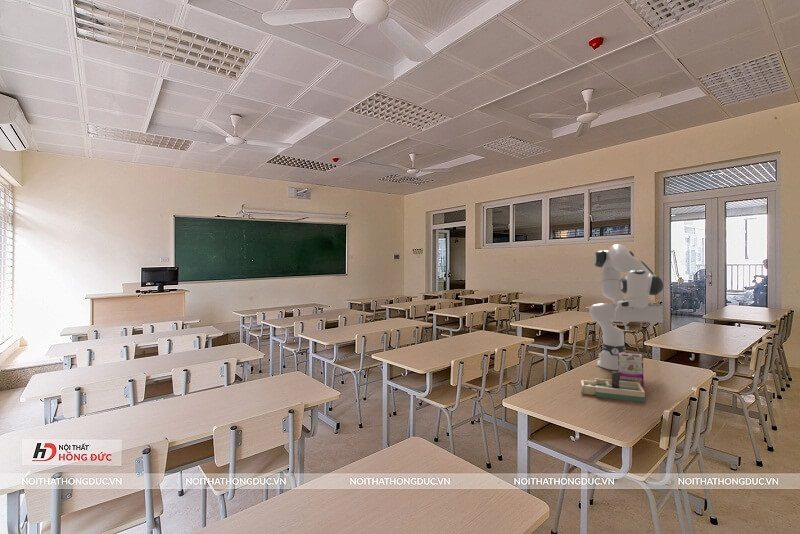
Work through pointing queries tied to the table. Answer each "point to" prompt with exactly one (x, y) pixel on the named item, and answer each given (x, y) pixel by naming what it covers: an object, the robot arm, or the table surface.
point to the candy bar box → (630, 367)
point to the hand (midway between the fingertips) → (638, 330)
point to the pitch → (614, 390)
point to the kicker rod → (613, 381)
